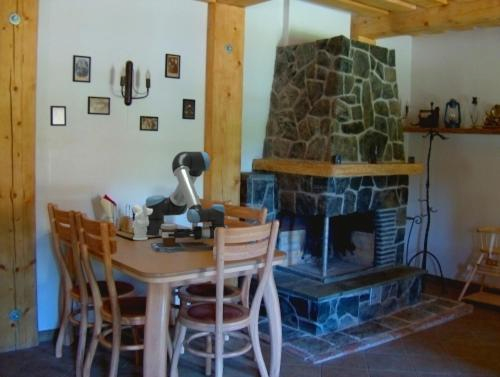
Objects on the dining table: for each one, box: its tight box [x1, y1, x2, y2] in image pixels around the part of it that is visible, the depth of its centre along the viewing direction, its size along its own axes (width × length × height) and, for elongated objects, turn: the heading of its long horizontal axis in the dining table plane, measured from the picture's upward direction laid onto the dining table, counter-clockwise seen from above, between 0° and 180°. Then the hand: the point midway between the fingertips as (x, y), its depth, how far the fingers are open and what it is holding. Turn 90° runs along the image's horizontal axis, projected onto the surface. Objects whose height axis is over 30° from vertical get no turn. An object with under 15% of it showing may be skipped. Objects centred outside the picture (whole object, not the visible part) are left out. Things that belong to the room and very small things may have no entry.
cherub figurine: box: [131, 203, 153, 241], centre depth 344 cm, size 12×12×22 cm
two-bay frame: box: [150, 240, 213, 253], centre depth 322 cm, size 20×31×2 cm, turn 109°
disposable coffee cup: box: [161, 222, 179, 247], centre depth 319 cm, size 10×10×12 cm
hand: (160, 233), depth 317 cm, fingers closed on disposable coffee cup, 8 cm apart
